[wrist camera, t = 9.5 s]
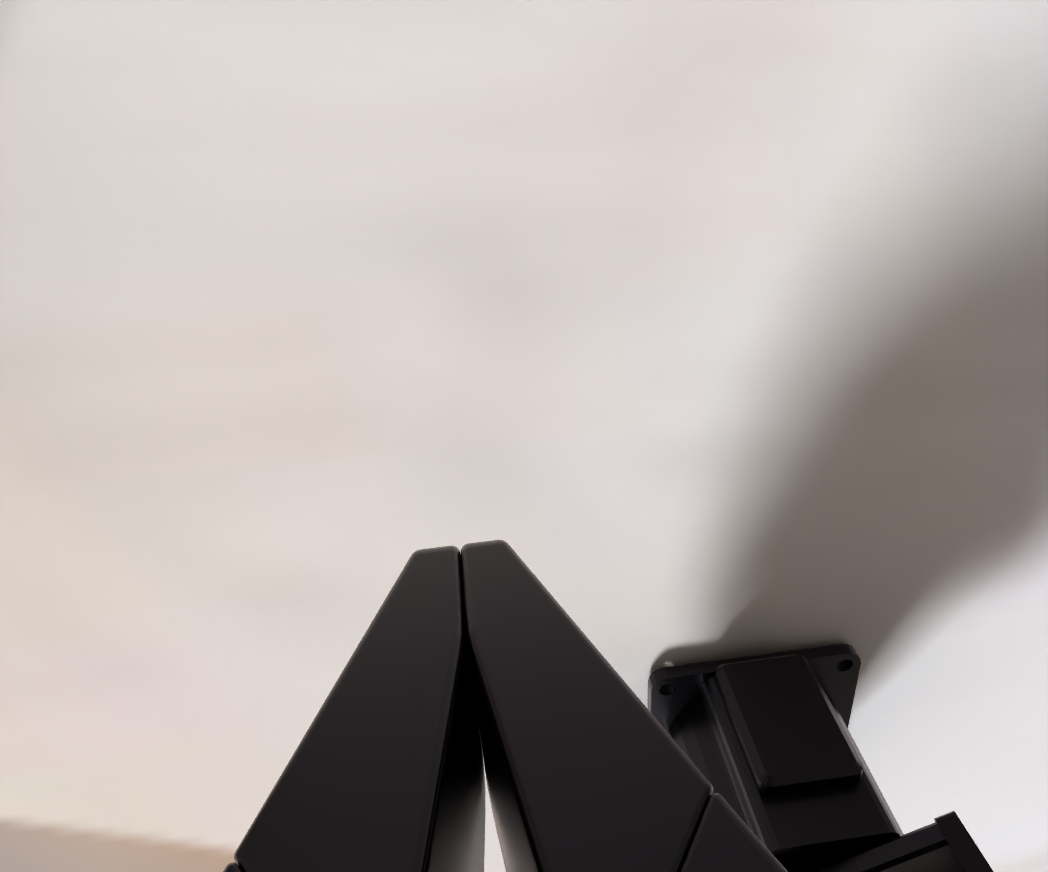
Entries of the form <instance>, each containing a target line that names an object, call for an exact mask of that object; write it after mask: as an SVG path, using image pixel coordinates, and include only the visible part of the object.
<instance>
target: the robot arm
mask: <svg viewBox="0 0 1048 872" xmlns="http://www.w3.org/2000/svg"><path fill="white" fill-rule="evenodd" d="M860 664H861V660H860V658H859V656H858V654H857V652H856V651H855V649H854V648H853V647H852V646H851V645H848V644H839V645H831V646H824V647H816V648H809V649H801V650H794V651H786V652H779V653H772V654H764V655H757V656H749V657H742V658H734V659H727V660H719V661H712V662H704V663H697V664H689V665H682V666H674V667H667V668H662V669H658V670H657V671H655V672H653V673H652V675H651V676H650V677H649V680H648V709H647V708H646V706H645V705H644V704H643V703H642V702H641V701H640V699H639V698H638V697H637V696H636V695H635V693H634V692H633V691H632V690H631V689H630V688H629V686H628V685H627V684H626V683H625V682H624V680H623V679H622V678H621V677H620V676H619V675H618V673H617V672H616V671H615V670H614V669H613V667H612V666H611V665H610V664H609V663H608V661H607V660H606V659H605V658H604V657H603V656H602V654H601V653H600V652H599V651H598V650H597V648H596V647H595V646H594V645H593V644H592V643H591V641H590V640H589V639H588V638H587V637H586V635H585V634H584V633H583V632H582V631H581V630H580V628H579V627H578V626H577V625H576V624H575V622H574V621H573V620H572V619H571V618H570V617H569V615H568V614H567V613H566V612H565V611H564V609H563V608H562V607H561V606H560V605H559V603H558V602H557V601H556V600H555V599H554V598H553V596H552V595H551V594H550V593H549V592H548V590H547V589H546V588H545V587H544V586H543V585H542V583H541V582H540V581H539V580H538V579H537V577H536V576H535V575H534V574H533V573H532V572H531V570H530V569H529V568H528V567H527V566H526V564H525V563H524V562H523V561H522V560H521V559H520V557H519V556H518V555H517V554H516V553H515V551H514V550H513V549H512V548H511V547H510V546H509V545H508V544H507V543H506V542H505V541H503V540H494V541H486V542H478V543H470V544H466V545H464V546H463V547H462V549H461V555H460V551H459V549H458V548H457V547H455V546H446V547H437V548H429V549H421V550H418V551H416V552H414V553H413V554H412V556H411V557H410V559H409V560H408V562H407V564H406V565H405V567H404V569H403V571H402V572H401V574H400V576H399V577H398V579H397V581H396V582H395V584H394V586H393V587H392V589H391V591H390V592H389V594H388V596H387V598H386V599H385V601H384V603H383V604H382V606H381V608H380V609H379V611H378V613H377V614H376V616H375V618H374V619H373V621H372V623H371V624H370V626H369V628H368V630H367V631H366V633H365V635H364V636H363V638H362V640H361V641H360V643H359V645H358V646H357V648H356V650H355V651H354V653H353V655H352V657H351V658H350V660H349V662H348V663H347V665H346V667H345V668H344V670H343V672H342V673H341V675H340V677H339V678H338V680H337V682H336V683H335V685H334V687H333V689H332V690H331V692H330V694H329V695H328V697H327V699H326V700H325V702H324V704H323V705H322V707H321V709H320V710H319V712H318V714H317V716H316V717H315V719H314V721H313V722H312V724H311V726H310V727H309V729H308V731H307V732H306V734H305V736H304V737H303V739H302V741H301V743H300V744H299V746H298V748H297V749H296V751H295V753H294V754H293V756H292V758H291V759H290V761H289V763H288V764H287V766H286V768H285V769H284V771H283V773H282V775H281V776H280V778H279V780H278V781H277V783H276V785H275V786H274V788H273V790H272V791H271V793H270V795H269V796H268V798H267V800H266V802H265V803H264V805H263V807H262V808H261V810H260V812H259V813H258V815H257V817H256V818H255V820H254V822H253V823H252V825H251V827H250V829H249V830H248V832H247V834H246V835H245V837H244V839H243V840H242V842H241V844H240V845H239V847H238V849H237V850H236V852H235V854H234V859H235V861H236V863H230V864H228V865H227V866H226V868H225V870H224V871H223V872H484V844H485V776H484V765H485V772H486V779H487V786H488V791H489V796H490V801H491V807H492V812H493V816H494V820H495V825H496V829H497V833H498V838H499V842H500V847H501V851H502V855H503V860H504V864H505V868H506V872H993V870H992V869H991V867H990V866H989V864H988V862H987V861H986V859H985V858H984V856H983V855H982V853H981V852H980V850H979V849H978V847H977V845H976V844H975V842H974V841H973V839H972V838H971V836H970V835H969V833H968V832H967V830H966V828H965V827H964V825H963V824H962V822H961V821H960V819H959V818H958V816H957V815H956V813H955V812H954V811H952V812H950V813H947V814H945V815H942V816H940V817H937V818H934V820H935V823H933V824H930V825H928V826H925V827H923V828H920V829H917V830H915V831H912V832H910V833H907V834H905V835H904V834H903V833H902V831H901V829H900V827H899V825H898V823H897V821H896V819H895V817H894V816H893V814H892V812H891V810H890V808H889V806H888V804H887V802H886V800H885V799H884V797H883V795H882V793H881V791H880V789H879V787H878V785H877V783H876V782H875V780H874V778H873V776H872V774H871V772H870V770H869V768H868V766H867V764H866V763H865V761H864V759H863V757H862V755H861V753H860V751H859V749H858V747H857V746H856V744H855V742H854V740H853V738H852V736H851V734H850V732H849V730H848V724H849V719H850V714H851V709H852V704H853V699H854V694H855V689H856V684H857V679H858V674H859V669H860ZM665 684H666V685H665ZM482 750H483V751H482ZM483 757H484V762H483Z"/></svg>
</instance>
